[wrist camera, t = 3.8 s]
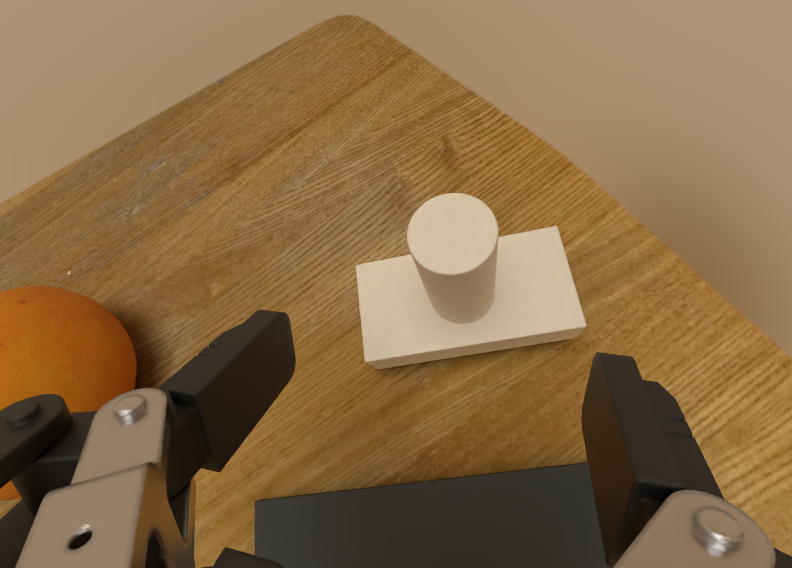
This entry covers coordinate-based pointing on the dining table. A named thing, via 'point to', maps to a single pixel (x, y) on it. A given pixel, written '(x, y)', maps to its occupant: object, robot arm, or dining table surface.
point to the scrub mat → (440, 524)
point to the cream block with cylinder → (465, 288)
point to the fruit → (61, 351)
